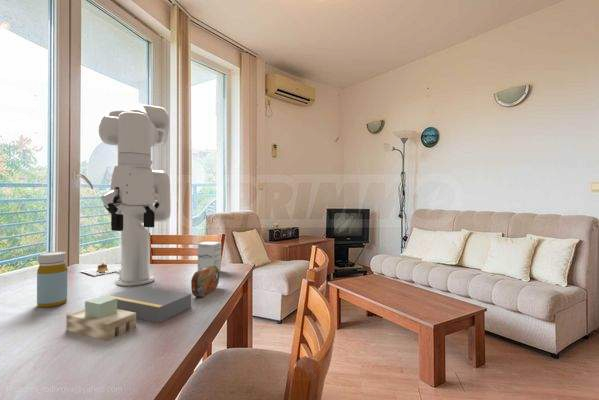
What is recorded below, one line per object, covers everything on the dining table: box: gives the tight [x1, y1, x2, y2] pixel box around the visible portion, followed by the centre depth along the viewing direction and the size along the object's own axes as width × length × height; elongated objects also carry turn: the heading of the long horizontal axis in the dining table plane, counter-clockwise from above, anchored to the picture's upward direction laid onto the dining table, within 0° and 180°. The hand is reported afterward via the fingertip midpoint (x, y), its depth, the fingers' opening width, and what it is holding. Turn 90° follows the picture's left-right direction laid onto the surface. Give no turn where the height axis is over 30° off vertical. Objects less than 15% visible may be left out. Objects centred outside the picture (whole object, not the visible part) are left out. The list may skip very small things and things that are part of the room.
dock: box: [106, 285, 192, 324], centre depth 88 cm, size 20×12×4 cm, turn 69°
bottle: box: [36, 251, 68, 308], centre depth 91 cm, size 7×7×15 cm
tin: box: [190, 266, 220, 298], centre depth 104 cm, size 15×3×8 cm, turn 168°
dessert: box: [80, 261, 121, 277], centre depth 130 cm, size 12×12×5 cm
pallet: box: [65, 308, 137, 342], centre depth 75 cm, size 14×8×4 cm, turn 69°
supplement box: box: [197, 241, 222, 272], centre depth 132 cm, size 7×7×13 cm
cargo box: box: [84, 295, 117, 319], centre depth 75 cm, size 5×4×3 cm
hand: (134, 228), depth 79 cm, fingers open, 9 cm apart
